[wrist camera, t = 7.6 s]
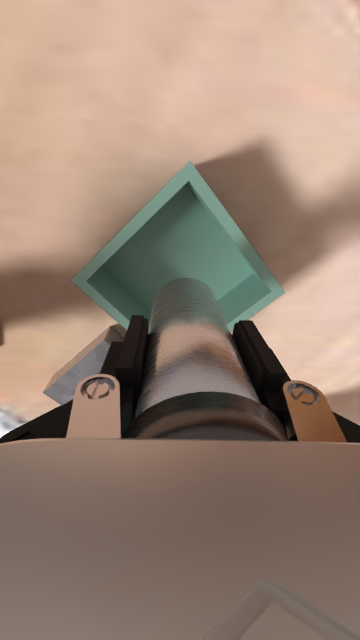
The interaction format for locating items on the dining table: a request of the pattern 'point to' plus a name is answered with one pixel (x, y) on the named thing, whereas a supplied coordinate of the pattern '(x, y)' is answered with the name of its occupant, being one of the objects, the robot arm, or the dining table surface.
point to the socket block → (81, 367)
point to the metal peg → (196, 374)
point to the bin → (179, 256)
